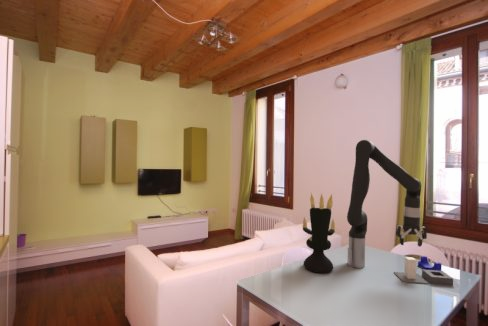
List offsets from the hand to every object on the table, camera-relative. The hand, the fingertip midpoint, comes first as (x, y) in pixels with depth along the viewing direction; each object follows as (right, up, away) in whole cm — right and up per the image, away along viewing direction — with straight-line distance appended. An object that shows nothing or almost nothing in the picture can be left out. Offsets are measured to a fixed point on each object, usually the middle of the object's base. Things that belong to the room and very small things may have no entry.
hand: (410, 245), depth 144 cm
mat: (0, -18, 0) cm, 18 cm away
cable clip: (+19, -18, +12) cm, 29 cm away
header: (+12, -18, -2) cm, 22 cm away
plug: (0, -17, 0) cm, 17 cm away
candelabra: (-46, -17, +10) cm, 50 cm away
